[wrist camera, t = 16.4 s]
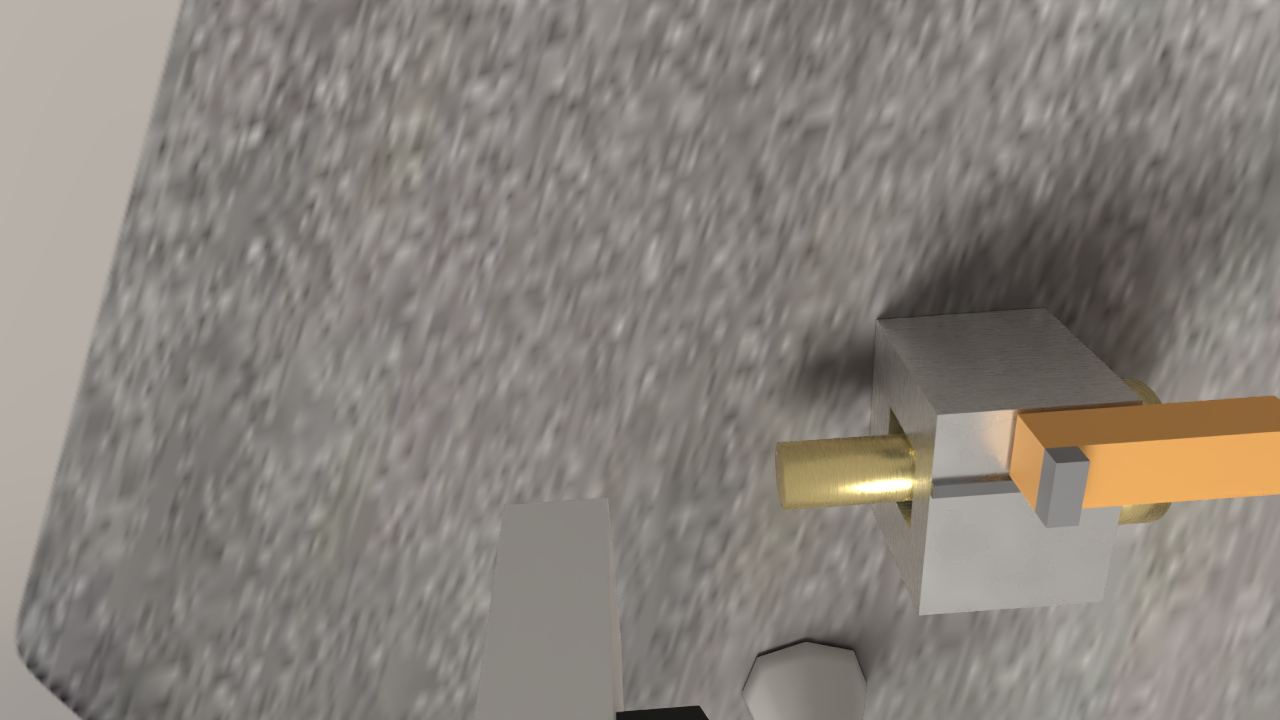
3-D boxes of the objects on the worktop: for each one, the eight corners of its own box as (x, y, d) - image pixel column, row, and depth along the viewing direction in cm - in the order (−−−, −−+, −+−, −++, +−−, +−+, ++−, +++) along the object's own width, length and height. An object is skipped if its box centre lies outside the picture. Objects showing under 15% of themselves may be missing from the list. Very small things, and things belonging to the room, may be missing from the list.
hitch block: (876, 319, 45) (940, 418, 37) (1045, 307, 45) (1146, 403, 37) (866, 496, 50) (920, 620, 41) (1020, 485, 50) (1105, 606, 42)
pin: (769, 379, 44) (795, 453, 39) (1113, 354, 45) (1190, 424, 39) (769, 494, 47) (793, 579, 42) (1092, 471, 47) (1160, 552, 42)
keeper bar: (1017, 414, 37) (1056, 463, 34) (1274, 395, 37) (1336, 443, 34) (1009, 475, 38) (1046, 528, 35) (1257, 457, 39) (1316, 508, 35)
